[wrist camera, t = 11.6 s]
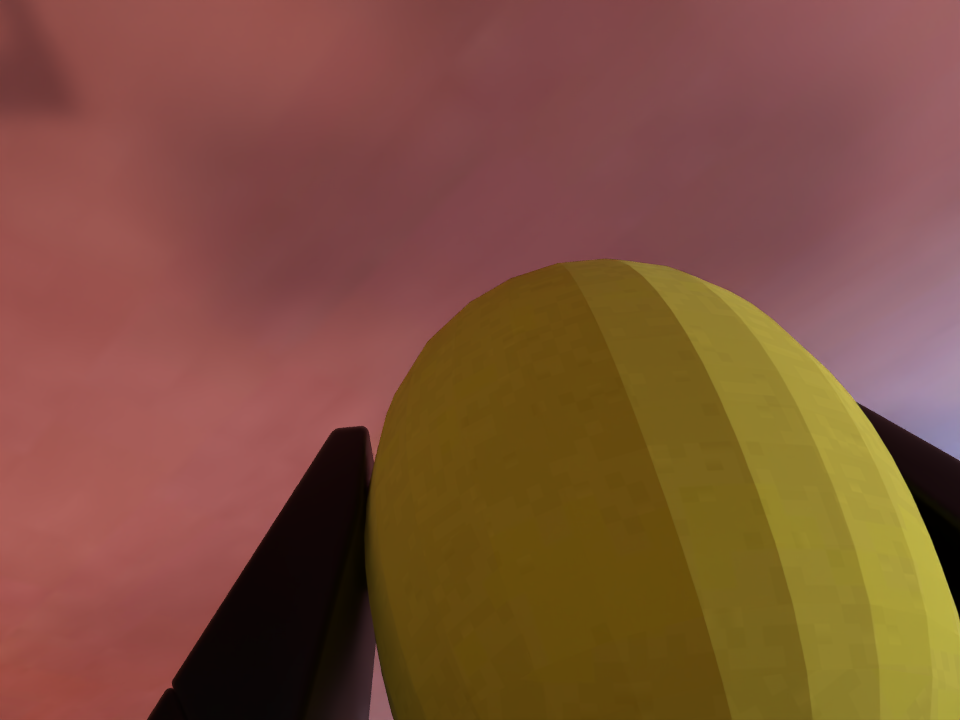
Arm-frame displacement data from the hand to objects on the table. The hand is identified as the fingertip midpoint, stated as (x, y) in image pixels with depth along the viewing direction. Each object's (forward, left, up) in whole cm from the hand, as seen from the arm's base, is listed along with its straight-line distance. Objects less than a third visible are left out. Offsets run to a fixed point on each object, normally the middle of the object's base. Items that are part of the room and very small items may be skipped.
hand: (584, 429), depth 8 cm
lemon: (0, 0, -3) cm, 3 cm away
